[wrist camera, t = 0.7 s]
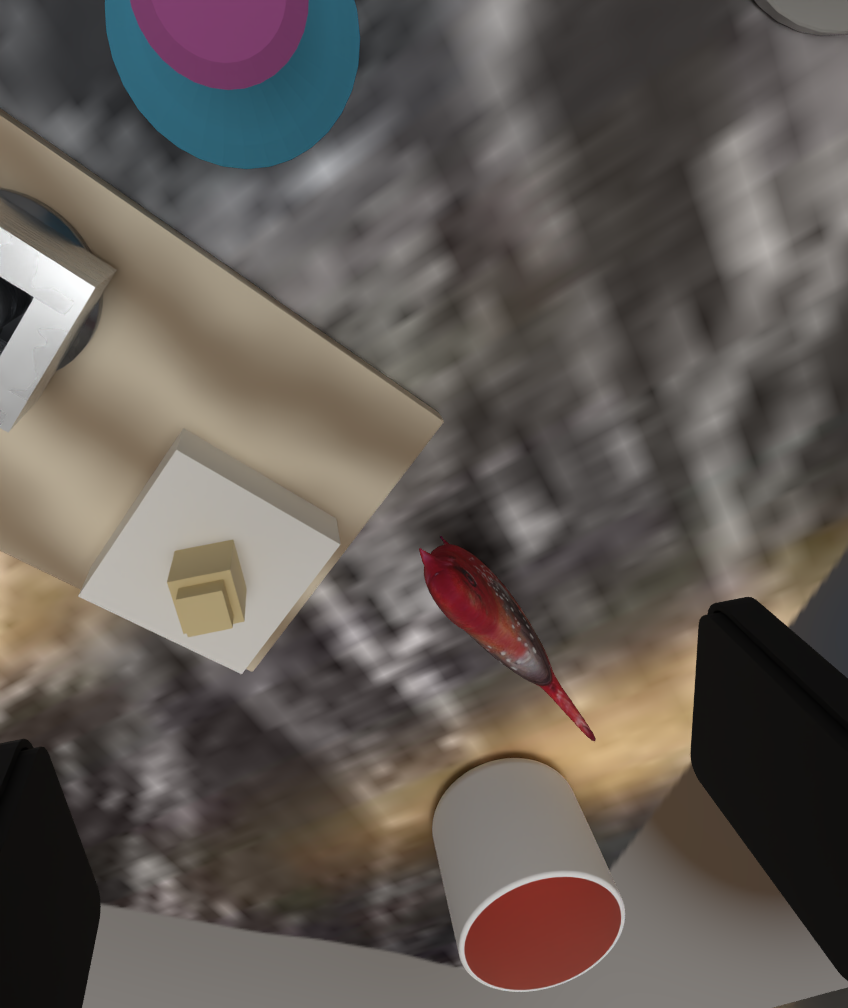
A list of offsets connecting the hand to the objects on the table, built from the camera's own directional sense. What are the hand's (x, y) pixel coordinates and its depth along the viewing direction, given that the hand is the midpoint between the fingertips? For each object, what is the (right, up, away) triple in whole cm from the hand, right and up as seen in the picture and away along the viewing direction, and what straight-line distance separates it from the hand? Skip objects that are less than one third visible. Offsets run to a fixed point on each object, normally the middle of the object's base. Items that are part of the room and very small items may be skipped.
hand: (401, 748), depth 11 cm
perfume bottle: (-7, +23, +22) cm, 33 cm away
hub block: (-11, +2, +30) cm, 32 cm away
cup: (+6, -17, +43) cm, 47 cm away
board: (-14, +8, +28) cm, 32 cm away
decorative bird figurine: (+4, -1, +36) cm, 36 cm away
